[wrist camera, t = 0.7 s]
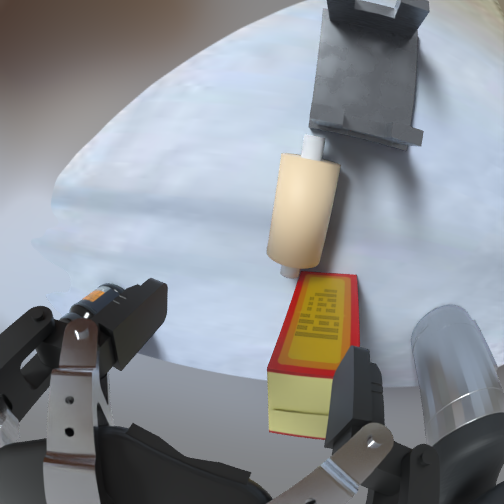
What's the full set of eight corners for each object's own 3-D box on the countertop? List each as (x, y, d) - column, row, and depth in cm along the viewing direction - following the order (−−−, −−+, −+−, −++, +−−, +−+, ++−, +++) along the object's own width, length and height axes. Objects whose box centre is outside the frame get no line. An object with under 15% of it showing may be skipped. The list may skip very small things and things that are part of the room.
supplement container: (92, 283, 46) (48, 315, 35) (126, 277, 42) (75, 316, 31) (116, 329, 49) (78, 365, 38) (152, 331, 45) (111, 375, 34)
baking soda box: (301, 270, 32) (265, 371, 18) (356, 274, 30) (359, 382, 16) (298, 334, 36) (268, 435, 22) (346, 338, 34) (336, 444, 20)
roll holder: (415, 33, 17) (437, 1, 10) (404, 150, 23) (429, 154, 16) (323, 12, 20) (315, -28, 12) (309, 127, 25) (297, 121, 18)
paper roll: (291, 132, 26) (277, 129, 22) (345, 142, 25) (344, 141, 20) (271, 256, 33) (256, 278, 28) (318, 269, 31) (310, 293, 26)
